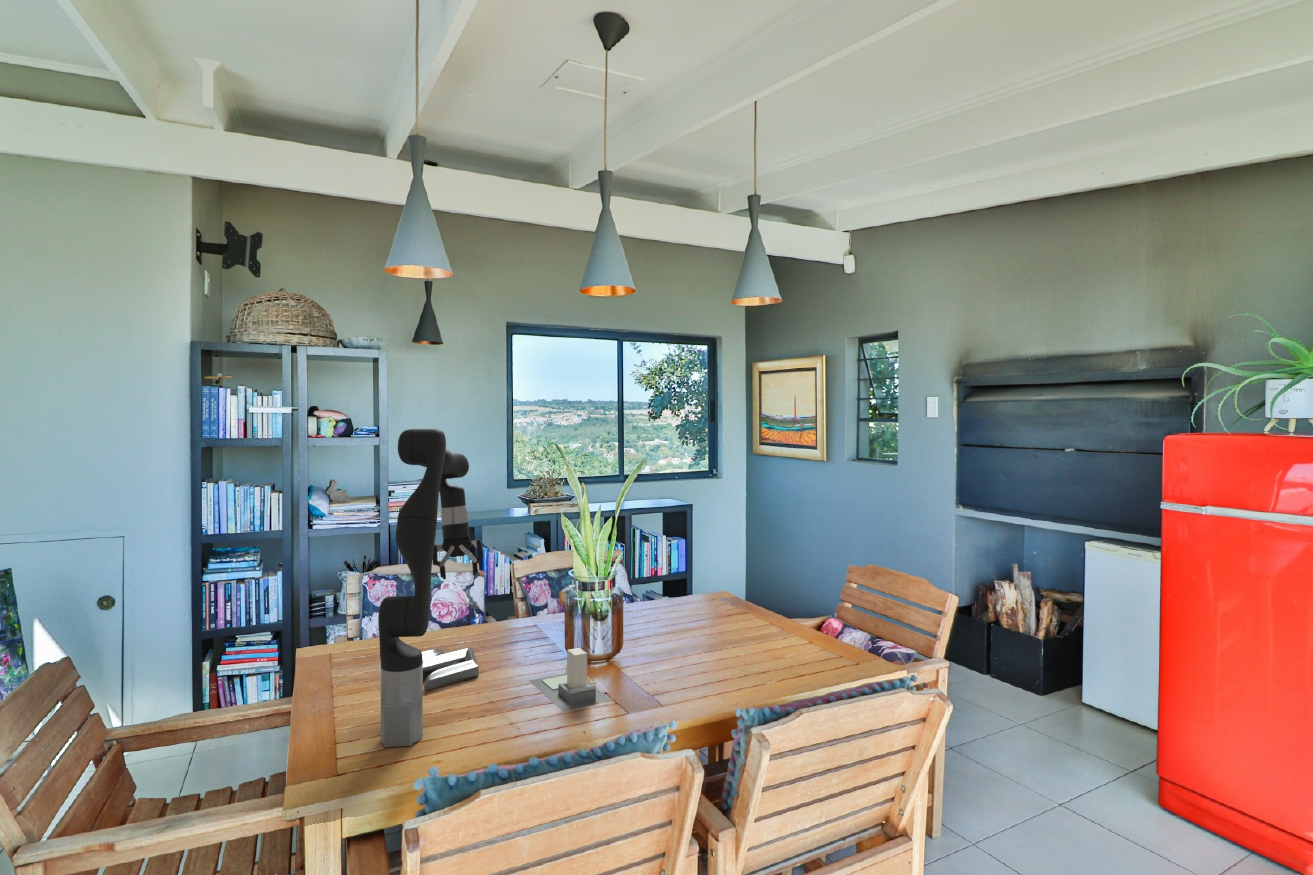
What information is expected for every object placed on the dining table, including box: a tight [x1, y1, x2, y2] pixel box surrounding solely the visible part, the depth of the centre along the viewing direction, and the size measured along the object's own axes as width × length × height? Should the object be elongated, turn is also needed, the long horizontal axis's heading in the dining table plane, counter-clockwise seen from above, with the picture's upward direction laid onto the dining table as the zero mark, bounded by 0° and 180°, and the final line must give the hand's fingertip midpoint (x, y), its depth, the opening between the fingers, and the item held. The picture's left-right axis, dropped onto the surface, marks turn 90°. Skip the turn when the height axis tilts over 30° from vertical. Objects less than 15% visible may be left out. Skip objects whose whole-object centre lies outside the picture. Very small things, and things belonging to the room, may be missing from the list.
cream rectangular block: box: [566, 647, 588, 690], centre depth 191 cm, size 4×5×12 cm
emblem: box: [421, 647, 480, 691], centre depth 211 cm, size 28×5×28 cm
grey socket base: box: [528, 672, 613, 712], centre depth 196 cm, size 14×24×5 cm, turn 31°
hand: (459, 577), depth 212 cm, fingers open, 8 cm apart
